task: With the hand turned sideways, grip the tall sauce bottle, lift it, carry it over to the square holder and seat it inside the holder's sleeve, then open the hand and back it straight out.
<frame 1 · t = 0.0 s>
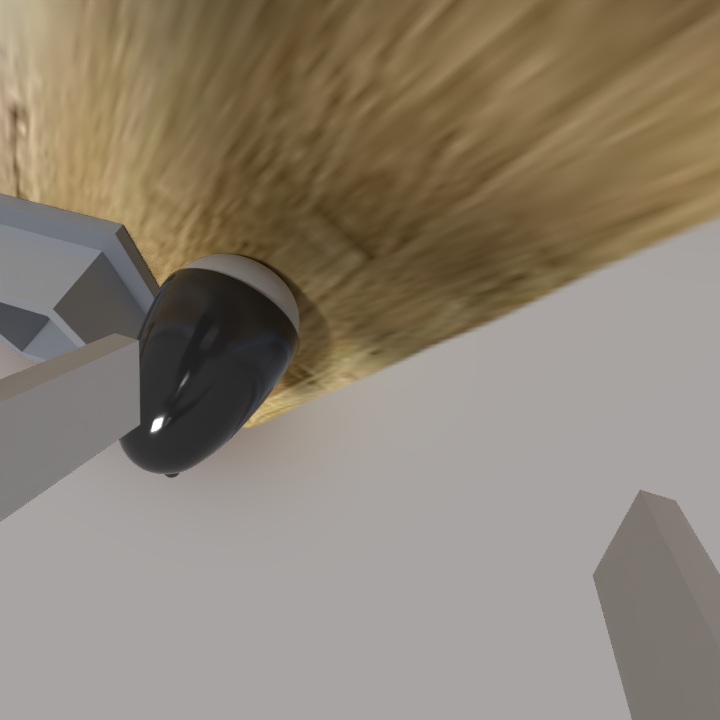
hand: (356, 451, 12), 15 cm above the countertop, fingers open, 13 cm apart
bottle holder: (82, 277, 43), on the countertop
pump dispenser: (255, 281, 34), on the countertop
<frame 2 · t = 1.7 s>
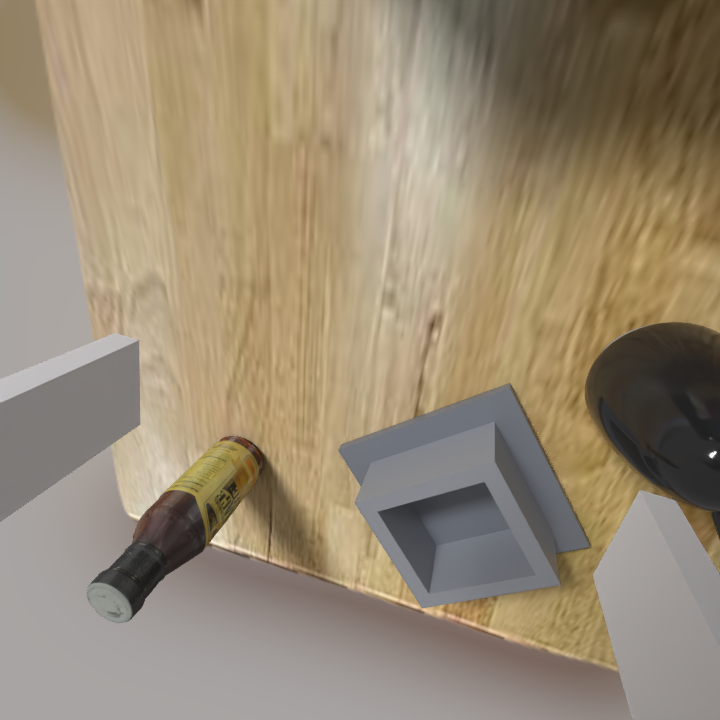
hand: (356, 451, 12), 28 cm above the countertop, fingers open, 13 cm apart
sauce bottle: (242, 453, 51), on the countertop
bottle holder: (460, 490, 45), on the countertop
pump dispenser: (647, 368, 36), on the countertop
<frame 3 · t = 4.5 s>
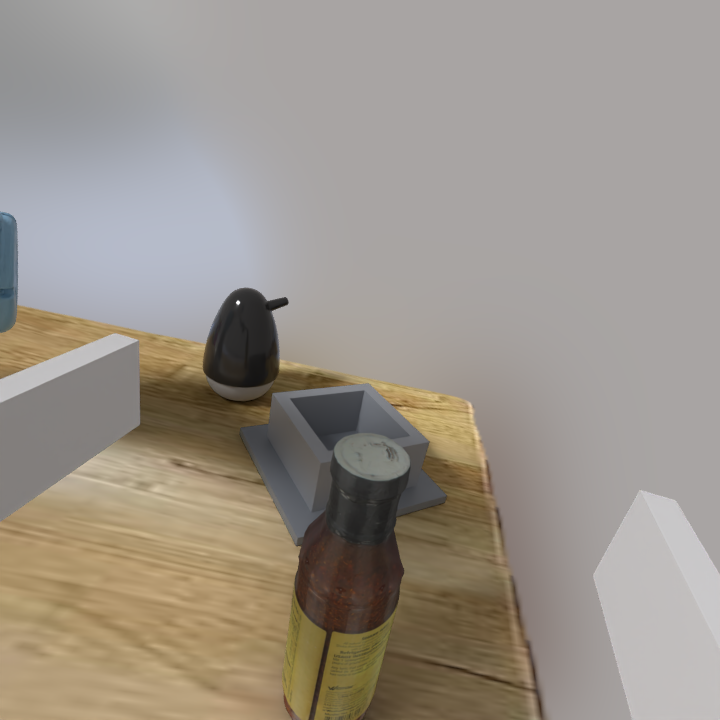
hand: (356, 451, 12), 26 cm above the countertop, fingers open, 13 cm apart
sauce bottle: (322, 692, 31), on the countertop
bottle holder: (338, 467, 53), on the countertop
pump dispenser: (240, 392, 64), on the countertop
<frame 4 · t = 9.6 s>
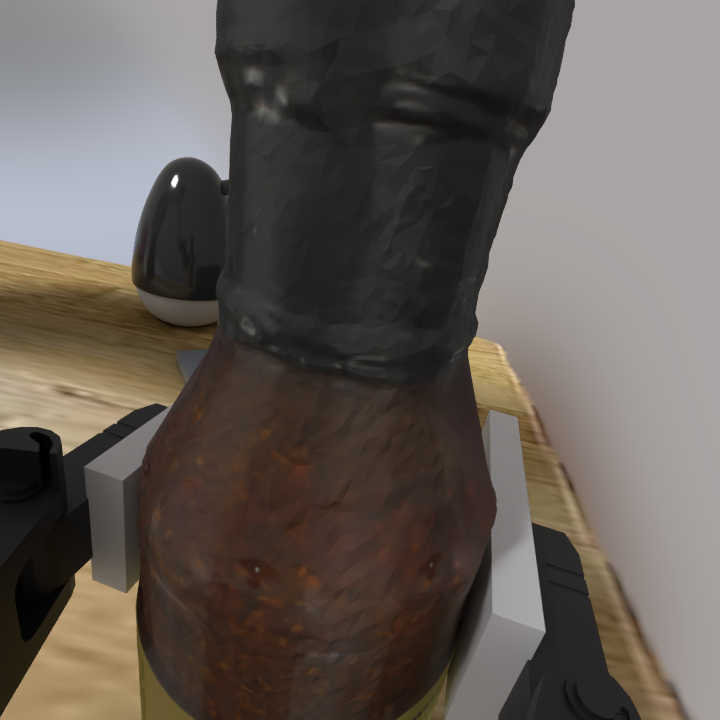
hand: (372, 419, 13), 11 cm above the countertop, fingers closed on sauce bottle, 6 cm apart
bottle holder: (320, 405, 35), on the countertop
pump dispenser: (189, 319, 46), on the countertop
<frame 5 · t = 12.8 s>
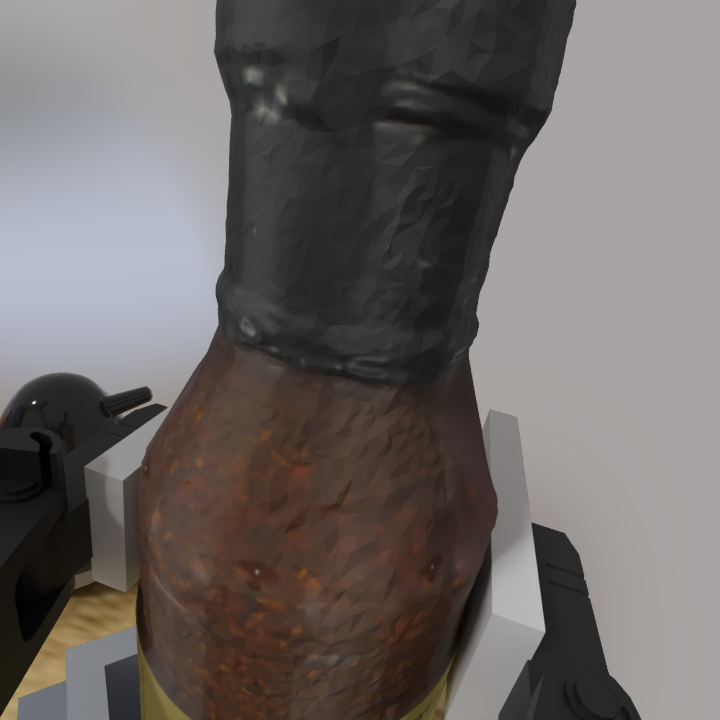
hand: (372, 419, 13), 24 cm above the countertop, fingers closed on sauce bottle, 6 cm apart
pump dispenser: (77, 558, 34), on the countertop
when the fingers open (13 cm above the countertop, at t = 16.0 s): sauce bottle drops 1 cm, resting on bottle holder.
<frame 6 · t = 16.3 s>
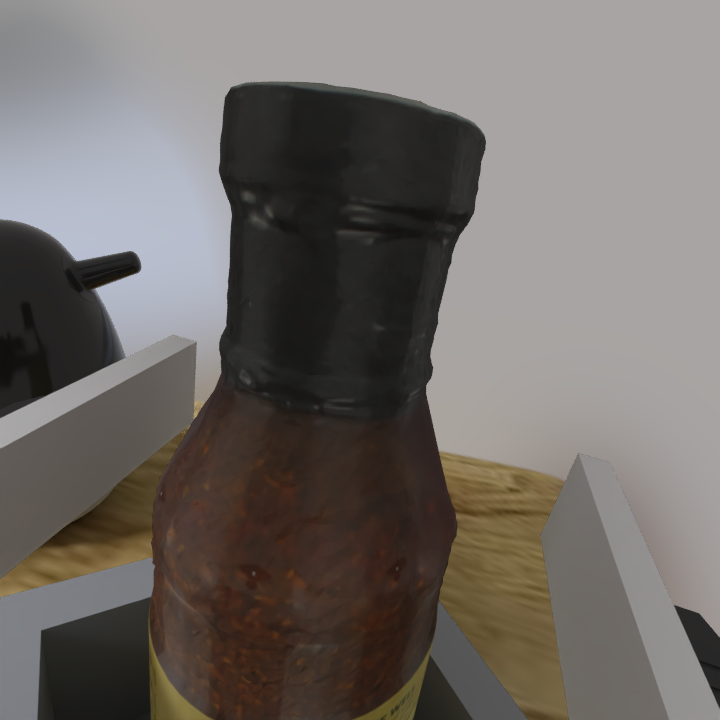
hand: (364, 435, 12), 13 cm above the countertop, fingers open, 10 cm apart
pump dispenser: (41, 500, 25), on the countertop
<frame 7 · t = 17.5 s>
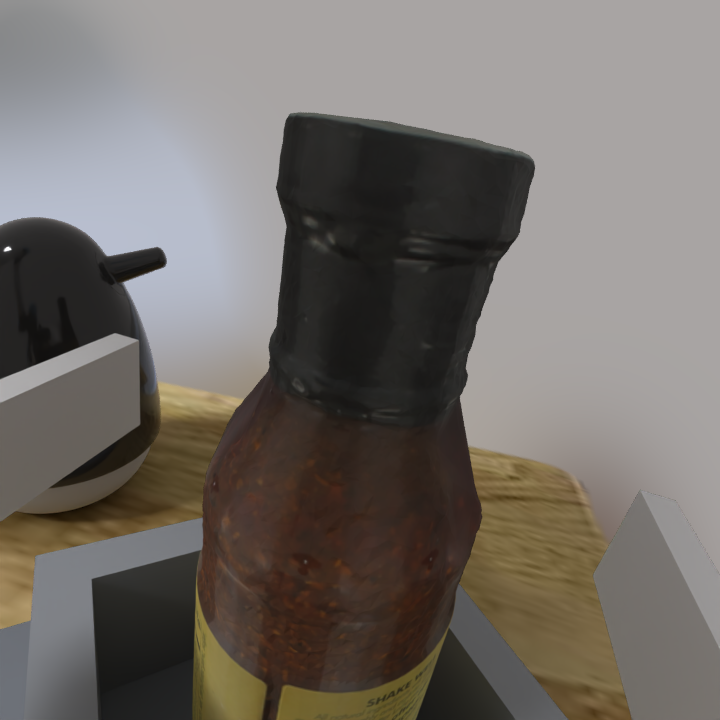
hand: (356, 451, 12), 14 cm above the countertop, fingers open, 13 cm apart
pump dispenser: (69, 481, 27), on the countertop
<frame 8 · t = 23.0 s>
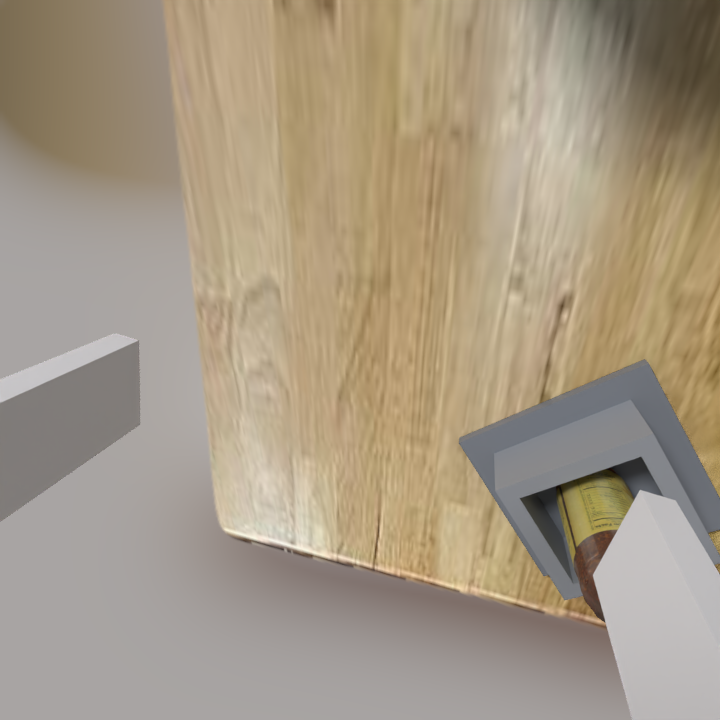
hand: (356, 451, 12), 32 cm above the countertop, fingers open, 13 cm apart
sauce bottle: (588, 482, 43), point 1 cm above the countertop, touching bottle holder
bottle holder: (587, 476, 44), on the countertop
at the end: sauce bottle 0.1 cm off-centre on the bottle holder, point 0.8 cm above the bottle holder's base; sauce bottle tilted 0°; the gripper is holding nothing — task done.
